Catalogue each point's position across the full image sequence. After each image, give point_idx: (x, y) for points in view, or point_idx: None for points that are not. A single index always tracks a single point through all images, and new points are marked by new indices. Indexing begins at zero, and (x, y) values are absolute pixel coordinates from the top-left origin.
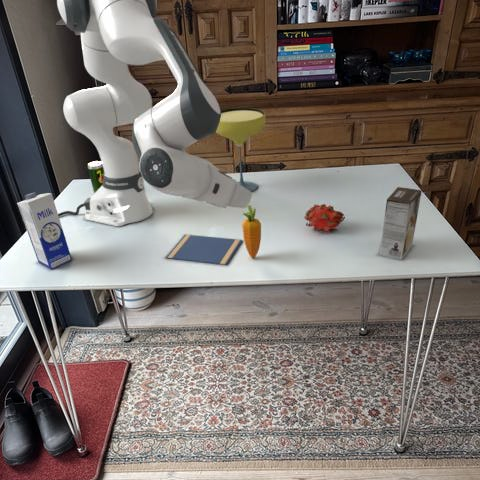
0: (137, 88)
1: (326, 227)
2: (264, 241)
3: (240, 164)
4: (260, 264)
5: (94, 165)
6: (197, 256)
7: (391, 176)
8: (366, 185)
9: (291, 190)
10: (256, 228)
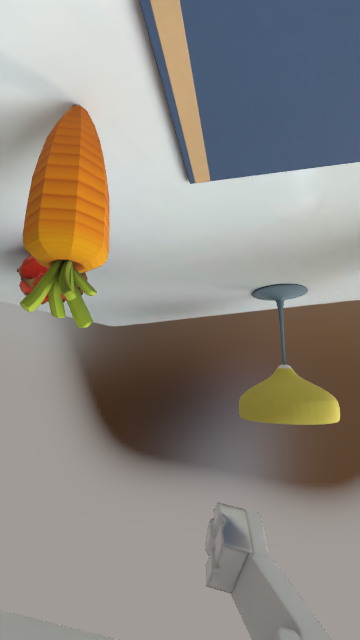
0: None
1: (29, 259)
2: (128, 195)
3: (282, 333)
4: (14, 76)
5: None
6: (336, 8)
7: (96, 319)
8: (106, 310)
9: (194, 297)
10: (24, 234)
